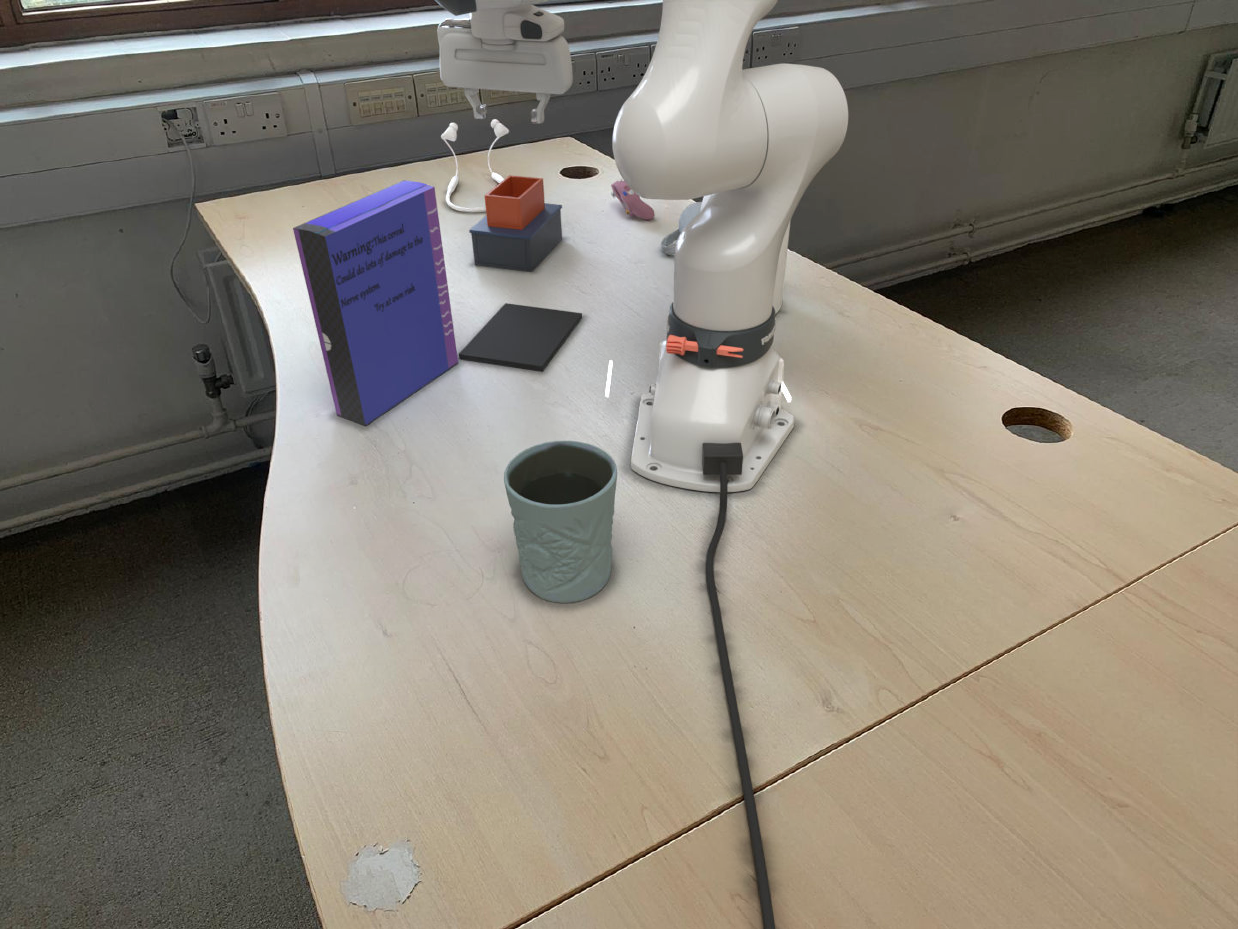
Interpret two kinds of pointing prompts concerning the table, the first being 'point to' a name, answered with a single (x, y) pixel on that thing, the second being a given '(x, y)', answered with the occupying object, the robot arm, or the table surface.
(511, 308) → the mat
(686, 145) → the robot arm
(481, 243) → the storage box
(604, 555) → the green embossed cup
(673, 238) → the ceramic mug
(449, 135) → the earphone
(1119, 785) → the table surface
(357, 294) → the purple flat upright box
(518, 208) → the top tub
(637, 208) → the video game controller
